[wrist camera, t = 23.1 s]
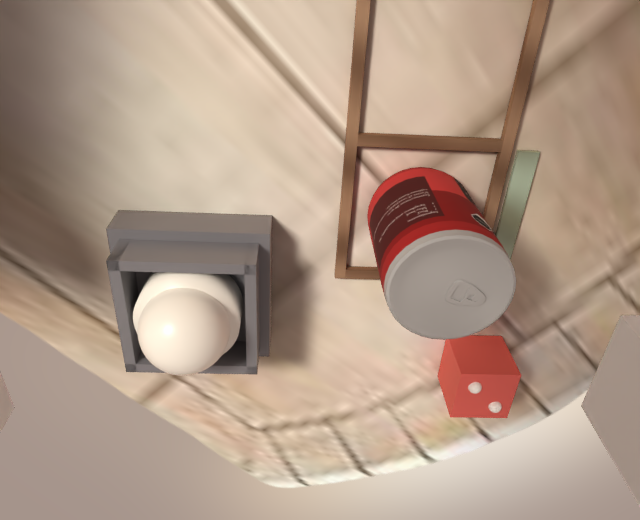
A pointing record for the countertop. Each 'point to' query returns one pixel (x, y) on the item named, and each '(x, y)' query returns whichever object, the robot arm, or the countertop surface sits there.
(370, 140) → the frame
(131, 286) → the dome base
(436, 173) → the canned food
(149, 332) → the dome
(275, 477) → the countertop surface
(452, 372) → the red die
